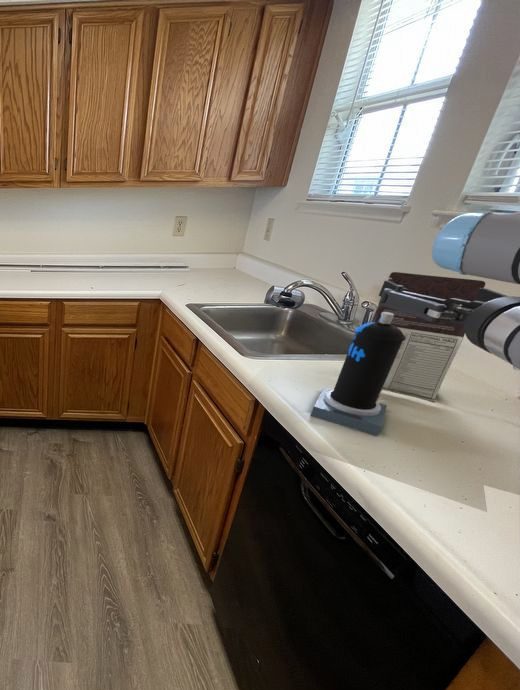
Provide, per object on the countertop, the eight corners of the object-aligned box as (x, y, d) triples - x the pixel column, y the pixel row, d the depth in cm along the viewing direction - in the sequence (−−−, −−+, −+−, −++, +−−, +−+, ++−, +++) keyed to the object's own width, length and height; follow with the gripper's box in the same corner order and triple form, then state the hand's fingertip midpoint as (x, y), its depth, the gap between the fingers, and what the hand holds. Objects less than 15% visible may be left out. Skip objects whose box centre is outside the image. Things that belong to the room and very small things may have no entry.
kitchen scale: (383, 414, 93) (389, 401, 92) (378, 436, 85) (384, 422, 84) (320, 396, 101) (324, 384, 99) (310, 415, 92) (315, 402, 91)
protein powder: (430, 389, 104) (485, 277, 92) (435, 403, 98) (495, 285, 86) (349, 372, 113) (390, 268, 101) (349, 384, 106) (392, 274, 94)
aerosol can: (374, 398, 93) (411, 311, 84) (377, 413, 87) (418, 322, 78) (330, 388, 97) (361, 305, 88) (330, 402, 91) (363, 314, 82)
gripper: (392, 345, 59) (339, 305, 77) (629, 371, 52) (509, 321, 70) (416, 293, 56) (354, 264, 74) (671, 314, 49) (534, 276, 67)
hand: (430, 292), depth 72 cm, fingers open, 13 cm apart
